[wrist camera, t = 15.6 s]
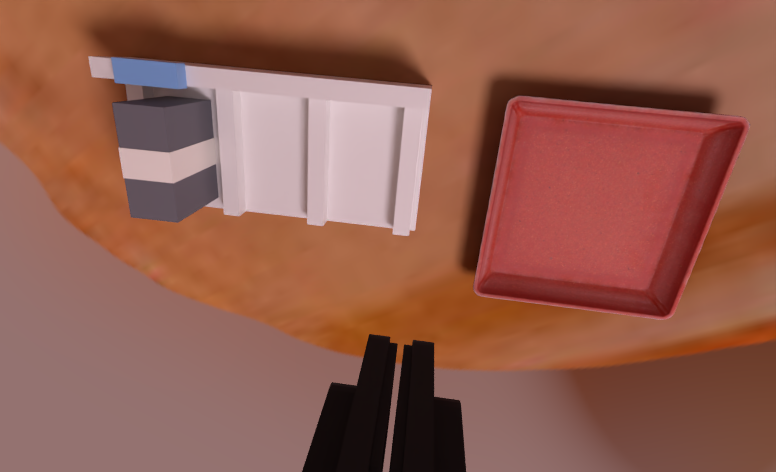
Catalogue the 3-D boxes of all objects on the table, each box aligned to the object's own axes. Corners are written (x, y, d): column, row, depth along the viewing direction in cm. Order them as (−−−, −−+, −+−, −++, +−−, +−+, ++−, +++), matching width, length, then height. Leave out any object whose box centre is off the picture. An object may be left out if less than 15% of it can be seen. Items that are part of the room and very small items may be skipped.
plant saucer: (469, 280, 42) (471, 297, 39) (502, 91, 35) (508, 94, 32) (654, 302, 41) (672, 322, 38) (726, 112, 34) (755, 117, 31)
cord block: (167, 95, 38) (110, 102, 31) (211, 100, 37) (164, 107, 31) (178, 192, 41) (130, 217, 34) (219, 197, 41) (178, 222, 34)
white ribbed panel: (131, 55, 37) (75, 53, 31) (432, 83, 35) (431, 87, 30) (150, 198, 42) (106, 219, 36) (415, 228, 40) (411, 256, 35)
